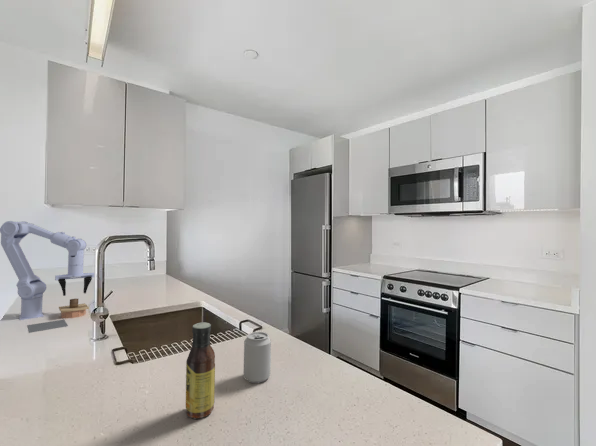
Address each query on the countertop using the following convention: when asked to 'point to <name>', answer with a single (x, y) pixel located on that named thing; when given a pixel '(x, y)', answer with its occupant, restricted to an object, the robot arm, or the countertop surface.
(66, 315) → the bowl
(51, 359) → the countertop surface
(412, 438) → the countertop surface
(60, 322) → the mat
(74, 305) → the lid
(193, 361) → the sauce bottle
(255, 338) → the can
